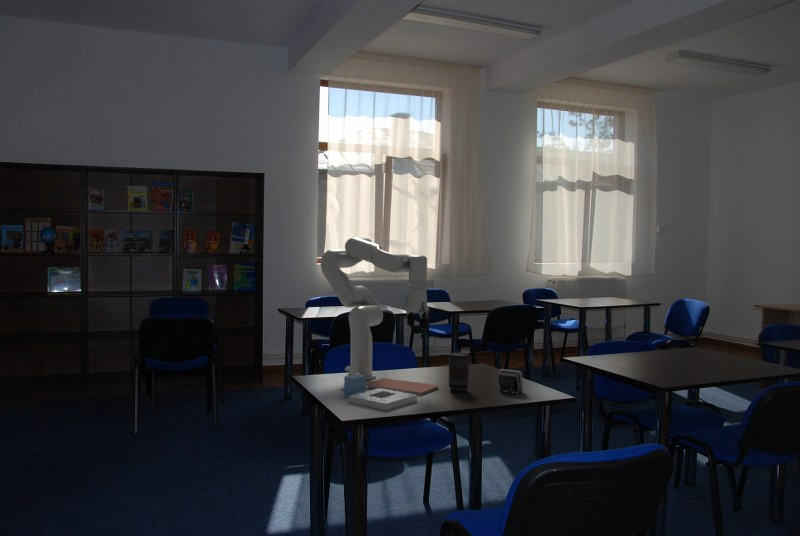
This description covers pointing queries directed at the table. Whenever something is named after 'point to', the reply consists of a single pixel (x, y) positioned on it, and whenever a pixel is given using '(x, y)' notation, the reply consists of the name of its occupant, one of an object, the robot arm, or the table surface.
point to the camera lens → (458, 372)
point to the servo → (354, 384)
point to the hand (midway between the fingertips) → (416, 326)
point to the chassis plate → (382, 399)
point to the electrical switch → (510, 380)
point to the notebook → (402, 386)
